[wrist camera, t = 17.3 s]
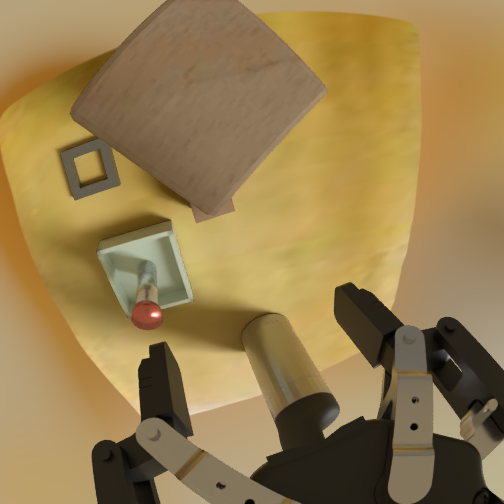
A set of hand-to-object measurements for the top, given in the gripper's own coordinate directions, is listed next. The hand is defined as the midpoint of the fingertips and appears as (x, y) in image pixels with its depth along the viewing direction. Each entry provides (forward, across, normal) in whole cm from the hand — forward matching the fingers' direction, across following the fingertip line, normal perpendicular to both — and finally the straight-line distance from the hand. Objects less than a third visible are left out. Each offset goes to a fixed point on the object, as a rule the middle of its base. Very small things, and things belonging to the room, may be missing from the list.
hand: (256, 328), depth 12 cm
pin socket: (+25, +11, -6) cm, 28 cm away
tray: (+26, +9, +9) cm, 29 cm away
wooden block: (+26, -1, -10) cm, 28 cm away
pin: (+25, +9, +10) cm, 28 cm away
